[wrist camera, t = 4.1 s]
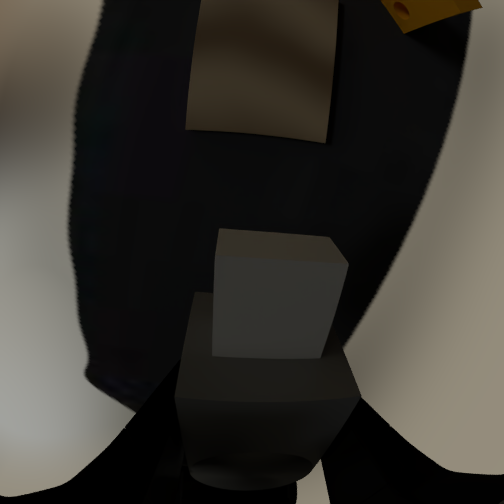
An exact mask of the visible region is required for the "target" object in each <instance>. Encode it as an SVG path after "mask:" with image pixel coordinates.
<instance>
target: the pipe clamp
mask: <svg viewBox="0 0 504 504" xmlns="http://www.w3.org/2000/svg"><path fill="white" fill-rule="evenodd" d="M381 2H382V3H383V4H384V6H385V7H386V8H387V10H388V11H389V13H390V14H391V15H392V17H393V18H394V20H395V21H396V23H397V24H398V26H399V27H400V29H401V30H402V32H403V33H407V32H410V31H412V30H415V29H418V28H421V27H423V26H426V25H429V24H432V23H434V22H437V21H440V20H443V19H446V18H449V17H452V16H455V15H458V14H461V13H465V12H468V11H471V10H475V9H479V8H482V6H481V4H480V2H479V1H478V0H381Z"/></svg>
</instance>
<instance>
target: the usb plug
mask: <svg viewBox="0 0 504 504" xmlns="http://www.w3.org/2000/svg"><path fill="white" fill-rule="evenodd" d="M348 265H349V263H348V262H347V261H346V259H345V258H344V257H343V255H342V254H341V252H340V251H339V250H338V248H337V247H336V246H335V244H334V243H333V242H332V240H331V239H330V238H329V237H321V236H309V235H297V234H285V233H272V232H260V231H246V230H232V229H219V235H218V241H217V247H216V254H215V272H214V293H203V292H195V294H194V299H193V304H192V308H191V313H190V318H189V323H188V327H187V332H186V337H185V342H184V347H183V353H182V358H181V363H180V368H179V374H178V379H177V385H176V391H175V396H174V397H175V403H176V409H177V415H178V420H179V426H180V431H181V436H182V441H183V446H184V450H185V455H186V459H187V464H188V468H189V472H190V475H191V476H192V477H193V478H194V479H196V480H197V481H199V482H201V483H203V484H206V485H209V486H213V487H217V488H222V489H228V490H243V491H249V490H264V489H271V488H276V487H281V486H284V485H288V484H291V483H293V482H296V481H298V480H300V479H302V478H304V477H305V476H307V475H308V474H309V473H310V472H311V471H312V469H313V468H314V467H315V465H316V464H317V463H318V462H319V460H320V459H321V457H322V456H323V455H324V453H325V452H326V451H327V449H328V448H329V446H330V445H331V443H332V442H333V440H334V439H335V438H336V436H337V435H338V433H339V432H340V430H341V429H342V427H343V425H344V424H345V422H346V421H347V419H348V418H349V416H350V414H351V413H352V411H353V409H354V408H355V406H356V404H357V403H358V401H359V399H360V398H361V394H360V391H359V389H358V386H357V383H356V381H355V378H354V376H353V373H352V371H351V368H350V366H349V363H348V361H347V358H346V356H345V353H344V351H343V349H342V346H341V344H340V341H339V339H338V337H337V334H336V332H335V329H334V327H333V325H332V321H333V318H334V315H335V312H336V308H337V305H338V301H339V298H340V295H341V291H342V288H343V284H344V280H345V277H346V273H347V269H348Z"/></svg>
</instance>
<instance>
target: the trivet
mask: <svg viewBox="0 0 504 504" xmlns="http://www.w3.org/2000/svg"><path fill="white" fill-rule="evenodd" d="M337 18H338V0H201V6H200V12H199V18H198V24H197V30H196V37H195V44H194V52H193V59H192V67H191V76H190V85H189V95H188V106H187V117H186V130H207V131H225V132H239V133H250V134H261V135H270V136H279V137H287V138H294V139H301V140H308V141H315V142H321V143H325V142H326V135H327V127H328V119H329V110H330V101H331V92H332V82H333V72H334V61H335V48H336V35H337Z"/></svg>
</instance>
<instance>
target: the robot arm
mask: <svg viewBox="0 0 504 504" xmlns="http://www.w3.org/2000/svg"><path fill="white" fill-rule="evenodd" d="M180 363H181V359H180V360H179V361H178V362H177V364H176V365H175V366H174V367H173V369H172V370H171V371H170V372H169V374H168V375H167V376H166V377H165V378H164V380H163V381H162V382H161V383H160V385H159V386H158V387H157V388H156V390H155V391H154V392H153V393H152V394H151V396H150V397H149V398H148V399H147V401H146V402H145V403H144V404H143V405H142V407H141V408H140V409H139V410H138V412H137V413H136V414H135V415H134V416H133V418H132V419H131V420H130V421H129V423H128V424H127V425H126V426H125V428H126V429H125V428H124V429H123V430H122V431H121V432H120V433H119V435H118V436H117V437H116V438H115V439H114V440H113V441H112V442H111V444H110V445H109V446H108V447H107V448H106V449H105V450H104V451H103V452H102V453H101V454H100V455H99V456H97V457H96V458H95V459H94V460H93V461H92V462H91V463H90V464H88V465H87V466H86V467H85V468H84V469H83V470H82V471H80V472H79V473H78V474H77V475H76V476H75V477H73V478H72V479H71V480H70V481H68V482H66V483H64V484H62V485H60V486H57V487H54V488H50V489H46V490H42V491H39V492H34V493H30V494H25V495H21V496H15V497H4V496H0V504H296V500H297V483H296V482H293V483H291V484H288V485H284V486H281V487H276V488H271V489H264V490H249V491H243V490H228V489H222V488H217V487H213V486H209V485H206V484H203V483H201V482H199V481H197V480H196V479H194V478H193V477H192V476H191V475H190V472H189V468H188V464H187V459H186V455H185V450H184V446H183V441H182V436H181V431H180V426H179V420H178V415H177V409H176V403H175V397H174V396H175V391H176V385H177V379H178V374H179V368H180ZM321 462H322V467H323V471H324V476H325V481H326V485H327V490H328V495H329V500H330V504H504V474H502V475H485V474H471V473H459V472H453V471H450V470H447V469H445V468H443V467H441V466H439V465H438V464H437V463H436V462H434V461H433V460H431V459H430V458H428V457H427V456H426V455H425V454H423V453H422V452H420V451H419V450H418V449H416V448H415V447H414V446H413V445H411V444H410V443H409V442H408V441H407V440H405V439H404V438H403V437H402V436H401V435H400V434H399V433H398V432H397V431H395V429H393V428H392V427H390V425H389V424H388V423H387V422H386V421H385V420H384V419H383V418H382V417H381V416H380V415H379V414H378V413H377V412H376V411H375V410H374V409H373V408H372V407H371V406H370V405H369V404H368V403H367V402H366V401H365V400H364V399H362V398H360V399H359V401H358V403H357V404H356V406H355V408H354V409H353V411H352V413H351V414H350V416H349V418H348V419H347V421H346V422H345V424H344V425H343V427H342V429H341V430H340V432H339V433H338V435H337V436H336V438H335V439H334V440H333V442H332V443H331V445H330V446H329V448H328V449H327V451H326V452H325V453H324V455H323V456H322V457H321Z"/></svg>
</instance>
